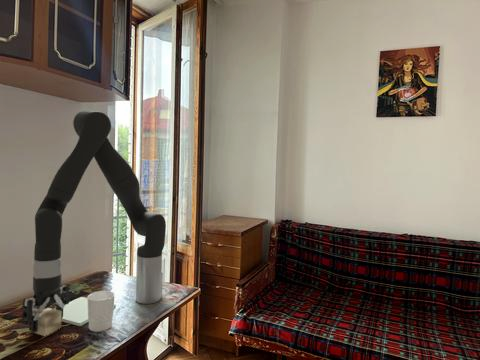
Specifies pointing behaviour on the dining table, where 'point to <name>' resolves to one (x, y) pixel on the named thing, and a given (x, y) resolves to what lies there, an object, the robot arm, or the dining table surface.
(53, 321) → the beech cube
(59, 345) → the dining table surface
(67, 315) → the sage board
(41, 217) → the robot arm
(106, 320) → the white cup
